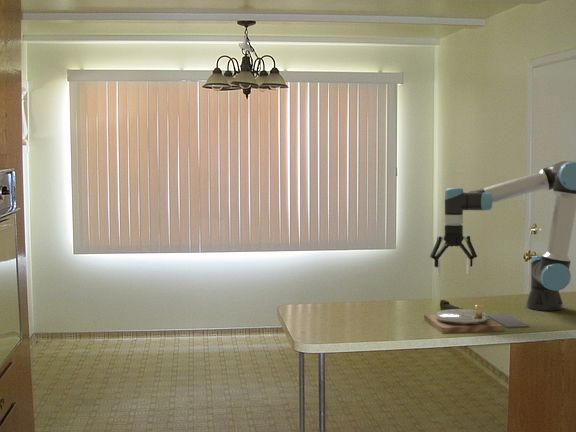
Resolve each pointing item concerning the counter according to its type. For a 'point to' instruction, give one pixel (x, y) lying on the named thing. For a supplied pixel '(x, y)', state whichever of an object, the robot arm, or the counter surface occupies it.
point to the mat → (508, 321)
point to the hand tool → (446, 305)
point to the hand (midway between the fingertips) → (453, 274)
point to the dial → (463, 316)
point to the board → (453, 328)
